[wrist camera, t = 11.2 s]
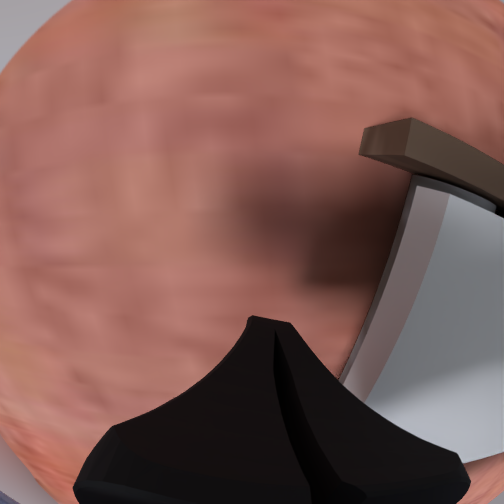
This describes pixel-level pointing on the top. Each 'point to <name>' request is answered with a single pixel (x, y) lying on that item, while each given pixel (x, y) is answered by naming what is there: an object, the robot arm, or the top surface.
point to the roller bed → (428, 181)
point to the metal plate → (441, 330)
